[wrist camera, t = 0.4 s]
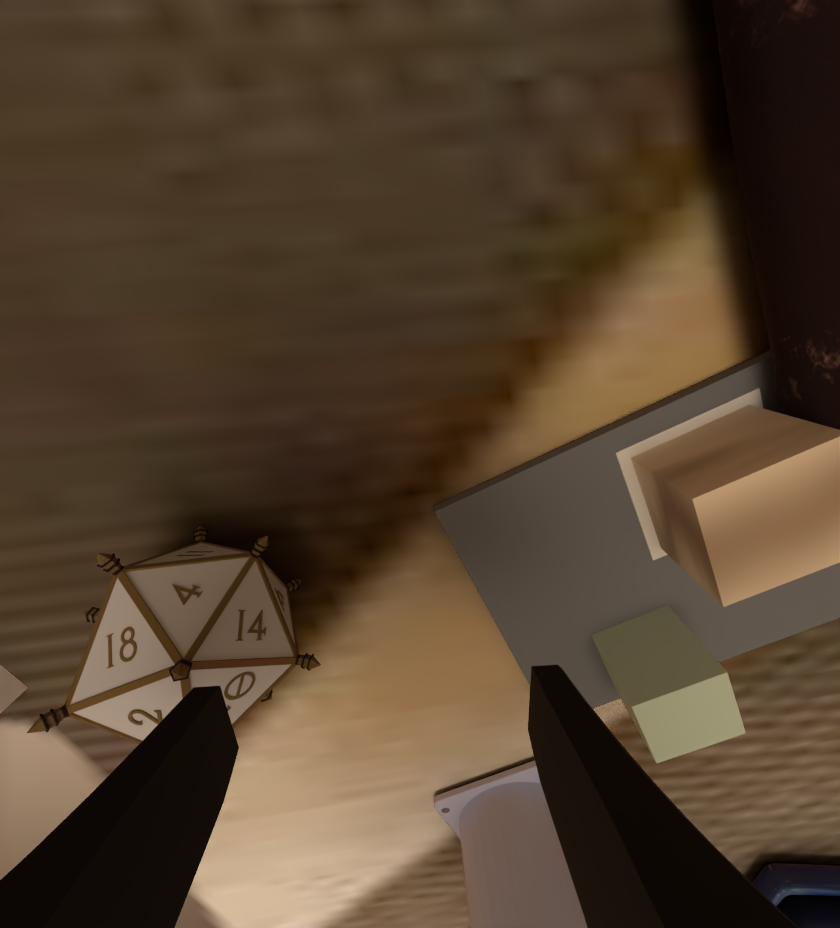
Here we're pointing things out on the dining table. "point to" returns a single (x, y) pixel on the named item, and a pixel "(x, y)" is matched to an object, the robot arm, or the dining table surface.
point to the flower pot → (803, 892)
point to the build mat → (613, 545)
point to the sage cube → (669, 684)
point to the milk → (9, 688)
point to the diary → (790, 184)
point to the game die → (182, 638)
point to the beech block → (746, 500)
